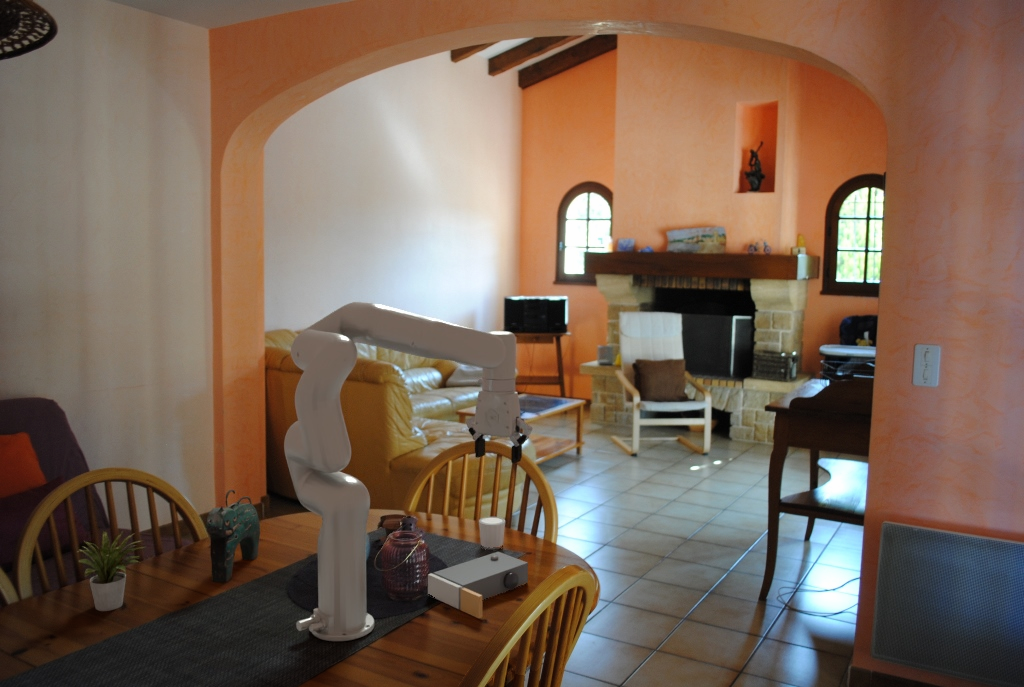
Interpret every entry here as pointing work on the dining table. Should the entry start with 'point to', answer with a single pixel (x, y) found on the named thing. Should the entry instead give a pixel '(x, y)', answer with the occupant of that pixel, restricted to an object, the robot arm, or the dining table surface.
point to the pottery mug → (390, 523)
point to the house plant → (108, 572)
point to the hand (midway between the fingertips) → (497, 459)
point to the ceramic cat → (232, 536)
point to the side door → (455, 595)
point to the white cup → (491, 531)
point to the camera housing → (488, 574)
